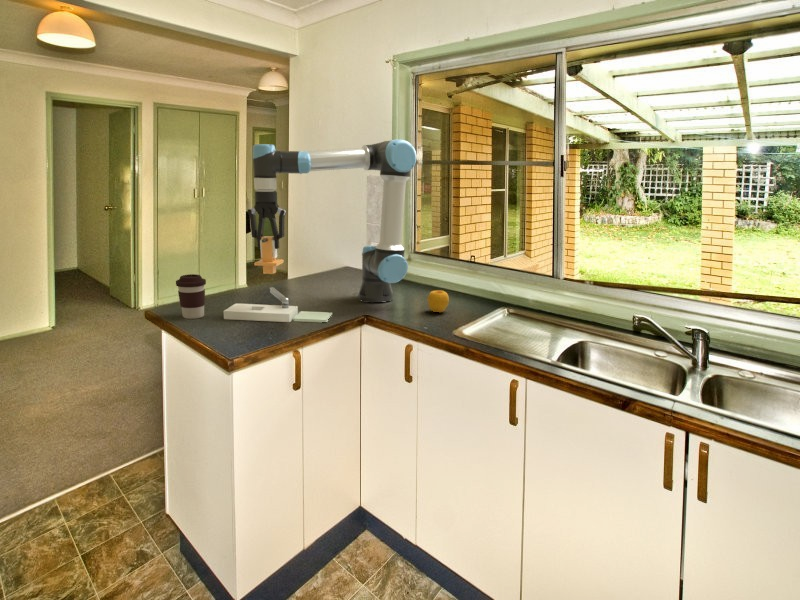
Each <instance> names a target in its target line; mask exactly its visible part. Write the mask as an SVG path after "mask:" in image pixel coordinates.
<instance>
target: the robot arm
mask: <svg viewBox="0 0 800 600" xmlns="http://www.w3.org/2000/svg"><path fill="white" fill-rule="evenodd" d="M416 163H417V151H416V149H415V147H414V146H413V144H411V142H409V141H407V140H405V139H396V138H395V139H393V140H384V141H381V142H378V143H372V144H364V145H362V146H361V147H357V148H341V149H339V148H337V149H323V150H322V149H319V150H318V149H317V150H303V151H301V150H299V151H298V150H296V151H295V150H292V151H291V150H288V151H287V150H277V149H276V147H275V144H272V143H271V144H270V143H269V144H268V143H257V144H254V145H253V146H252V166H253V167H252V169H253V187H254V190H255V192H254V202H255V205H254V207H252V208H250V209H247V210H246V212H247V214H248V216H249V224H250V233H251V237H252V238H254V239H256V240H257V248H258V249H260V259H262V241H261V237H264V228H265V222H266V219H268V221H270V222H269V223H270V227H271V228H270V229H271V231H272V236H274V240H272V252H273V258H278V249H279V248H280V240H281V239H283V238H284V237H285V219H286V218H285V216H286V213H287V210H286V209H282V208H280V205H278V192H277V191H276V190H277V189H278V187H277V183H278V182H277V174H300V175H302V174H309V173H310V172H322V171H334V170H337V171H338V170H351V169H363V170H364V171H379V174H380V175H379V176H380V177H381V179H382V180H383V185H382V197H381V198H382V200H381V201H382V203H381V212H380V213H381V216H380V218H381V219H380V228H379V231H380V233H379V243H377V244H376V245H365V246H363V247H362V253H361V256H362V257H361V258H362V259H361V260H362V261H361V263H362V264H361V265H362V266H361V269H362V270H361V271H362V272H361V275H362V276H361V279H362V280H361V283H360V285H359V286H360V287H359V290H358V292H357V300H358V299H360V300H362V301H361V302H363V301H369V302H382V301H390V300H392V299H393V300H394V293H393V288H392V286H391V284H395V283H399V282H400V281H402V280H403V279H404V277H405V276H406V275H407V273H408V268H409V264H408V262H407V260H406V258H405V247H404V246H403V245H402V240H403V239H402V238H403V223H404V214H405V213H404V212H405V197H406V187H407V184H406V183H407V182H408V181H409V180H410V179H411V173H412V169H414V167H415V166H416ZM256 213H257V215H258V226H257V217H256ZM277 213H278V224H277V221H276V219H277V218H276V215H277ZM277 225H278V226H277ZM360 300H359V301H360ZM393 300H392V301H393ZM390 302H391V301H390Z"/></svg>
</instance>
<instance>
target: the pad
mask: <svg viewBox="0 0 800 600" xmlns="http://www.w3.org/2000/svg"><path fill="white" fill-rule="evenodd" d="M331 315H332V316H333V312H329V311H328V312H326V311H304V310H303V311H302V310H301V311H299V312H298V314H297V315H296V316H295V317H294V318H293V319H292V320H293V322H302V323H305V322H307V323H322V322H327V323H328V321H329V320H330V319H331V318H330V316H331ZM332 316H331V317H332ZM329 318H330V319H329ZM328 319H329V320H328Z"/></svg>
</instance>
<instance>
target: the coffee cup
mask: <svg viewBox="0 0 800 600" xmlns="http://www.w3.org/2000/svg"><path fill="white" fill-rule="evenodd" d="M206 284H207V280H206V279H205V278H203V277H202V276H201V274H192V273H191V274H183V275H181V276H179V279H176V280H175V286H176V287H177V288H178V291H177V293H178V300H179V305H180V307H181V314H182V317H183V318H184V319H188V320H193V319H194V320H195V319H199V318H203V317H204V316H205V304H206V289H205V285H206Z"/></svg>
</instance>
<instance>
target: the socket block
mask: <svg viewBox="0 0 800 600" xmlns="http://www.w3.org/2000/svg"><path fill="white" fill-rule="evenodd" d="M298 314H299V306H297V305H289V304H282V303H281V305H278V304H277V305H276V304H255V303H237V302H236V303H234V304H232V305H231V306H229V307H228V308H226V309H224V310H223V319H224V320H234V321H235V320H236V321H237V320H238V321H239V320H240V321H256V322H257V321H259V322H279V323H280V322H281V323H290V322H292V321H293V320H294V319H293V318H294V317H295V316H297V315H298Z"/></svg>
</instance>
